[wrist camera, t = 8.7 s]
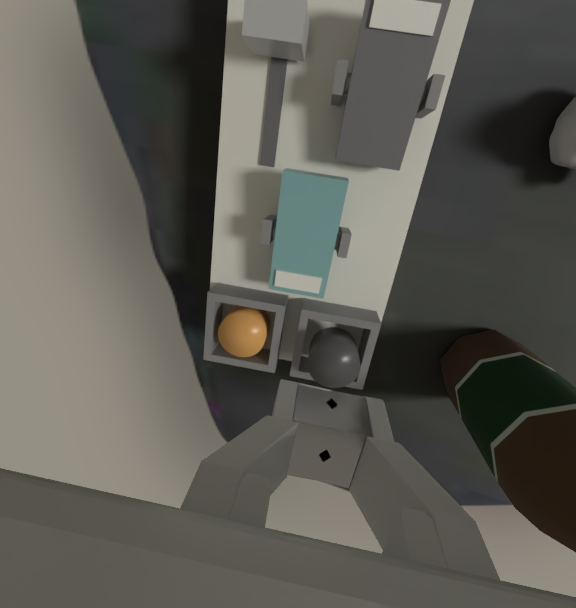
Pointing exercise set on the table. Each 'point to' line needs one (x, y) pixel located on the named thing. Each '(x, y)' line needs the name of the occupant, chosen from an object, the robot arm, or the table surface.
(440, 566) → the robot arm
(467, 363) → the beer bottle
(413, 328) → the table surface
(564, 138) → the grey rounded piece
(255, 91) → the console
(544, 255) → the table surface
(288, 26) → the slide knob
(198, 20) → the table surface
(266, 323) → the button orange
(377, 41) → the rocker charcoal
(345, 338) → the button black
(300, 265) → the rocker teal
